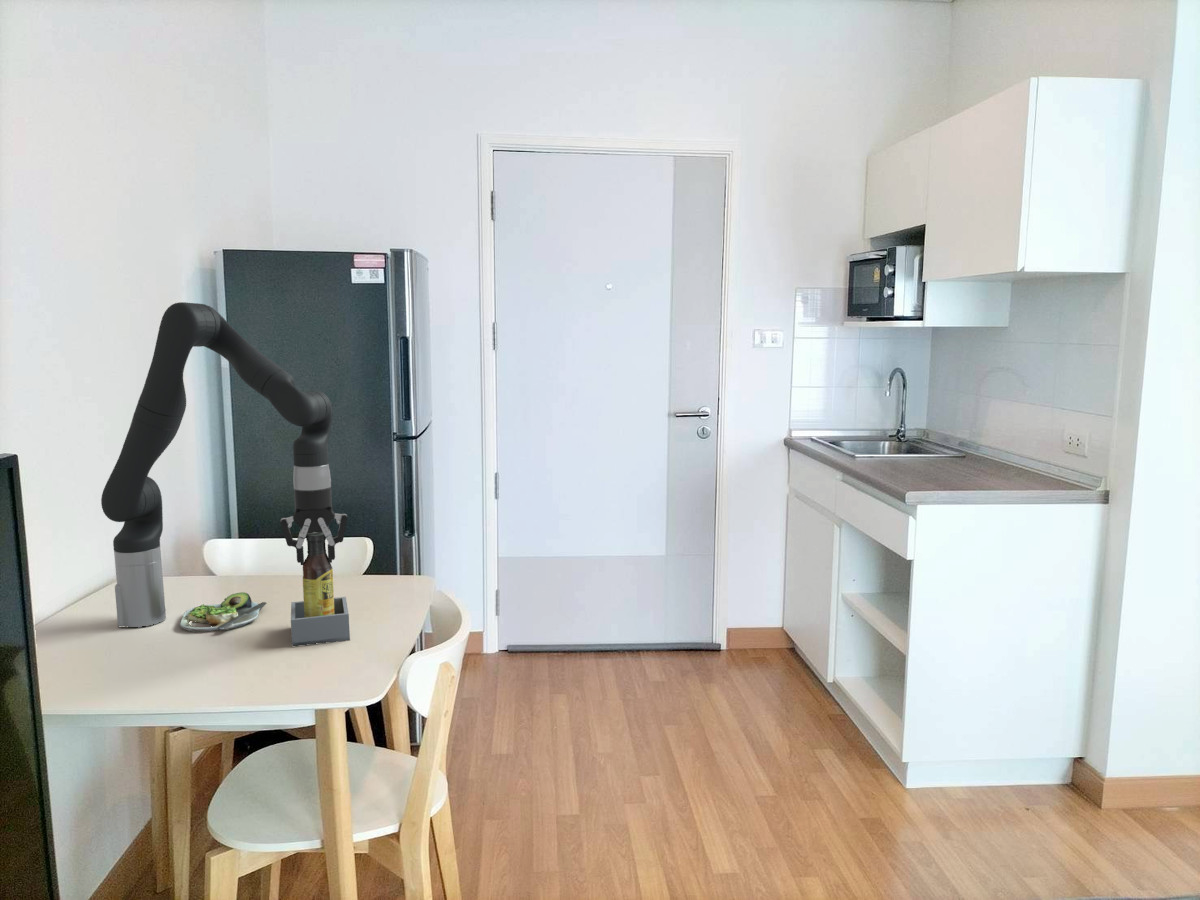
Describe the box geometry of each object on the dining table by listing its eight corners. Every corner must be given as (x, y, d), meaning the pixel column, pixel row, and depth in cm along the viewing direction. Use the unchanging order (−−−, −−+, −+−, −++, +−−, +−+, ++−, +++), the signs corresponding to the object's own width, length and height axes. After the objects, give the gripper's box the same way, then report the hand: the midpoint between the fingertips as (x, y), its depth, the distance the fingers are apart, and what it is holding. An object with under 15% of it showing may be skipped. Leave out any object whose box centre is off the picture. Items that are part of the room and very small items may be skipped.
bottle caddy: (292, 646, 180) (290, 620, 179) (292, 627, 192) (291, 602, 191) (349, 640, 184) (348, 614, 183) (346, 621, 196) (345, 596, 195)
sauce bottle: (329, 628, 184) (324, 537, 181) (300, 628, 184) (295, 537, 181) (339, 617, 191) (334, 530, 188) (311, 617, 191) (306, 530, 188)
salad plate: (261, 632, 190) (260, 612, 189) (172, 641, 185) (170, 621, 184) (268, 605, 208) (267, 587, 207) (187, 613, 203) (186, 594, 202)
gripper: (276, 490, 177) (280, 570, 180) (348, 486, 182) (351, 564, 184) (276, 484, 184) (281, 561, 187) (346, 480, 189) (350, 555, 191)
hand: (316, 562), depth 186 cm, fingers closed on sauce bottle, 5 cm apart
